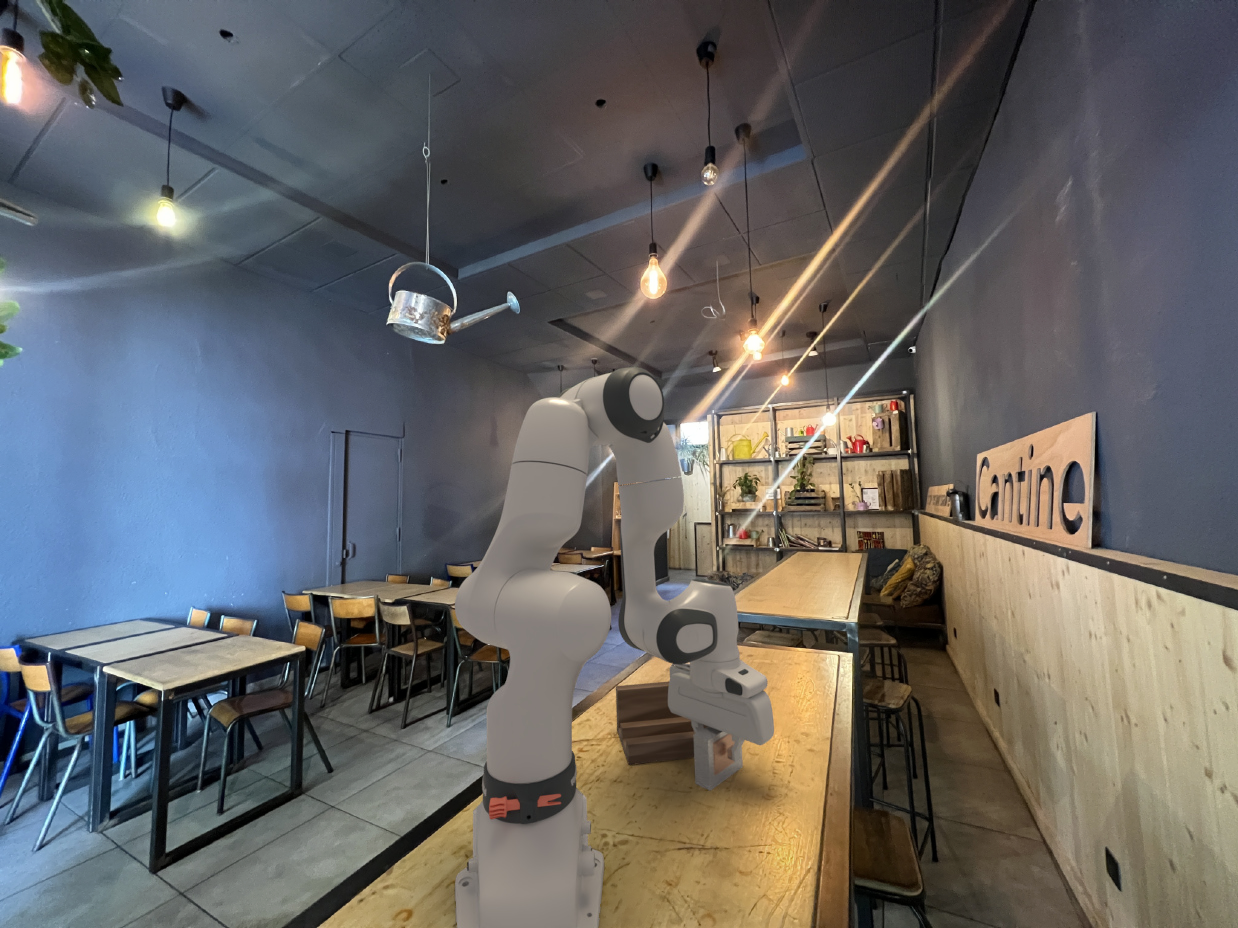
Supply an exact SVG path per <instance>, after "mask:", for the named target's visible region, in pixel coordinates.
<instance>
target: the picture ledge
mask: <svg viewBox="0 0 1238 928" xmlns="http://www.w3.org/2000/svg"><path fill="white" fill-rule="evenodd" d="M669 681H670V680H668V681H660V682H657V681H656V682H647V683H637V684H636V683H635V684H625V685H616V686H615V702H616V703H615V704H616V705H615V706H616V710H615V711H616V732H617V734H618V737H619V740H620V743H621V746H622V749H623V752H624V755H625V758H626V761H627V764H628V766H629V765H630V766H631V765H637V764H639V765H640V764H649V763H650V764H651V763H656V762H657V763H658V762H664V761H665V762H667V761H674V760H682V759H694V737H693V735H694V734H695V732H694V730H693V727H692V724H691V720H690V719H687V718H685V717H682V716H679V715H676V714H674V713H672V712H671V711H670V709H669V707H668V688H669ZM702 725H703V724H702ZM703 727H704V728H706V727H708V726H706V725H703Z"/></svg>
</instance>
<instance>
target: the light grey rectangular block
mask: <svg viewBox="0 0 1238 928" xmlns="http://www.w3.org/2000/svg"><path fill="white" fill-rule="evenodd" d="M693 737H694V757H693V759H694V776H695V777H694V780H695V781H694V782H695V785H697V786H700V787H702V788H703V789H705V790H708V791H710V792H711V791H712V790H714V789H715V788H717V786H719V785H720V784H722V783H724V781H726V780H727V779H728V778H730V777H731V776H732V775H734V774H735V773H736V772H738V771H739V770H741V769H742V768H743V763H744V762H743V750H742V749H743V745H742V746H741V748H740V759H739V760H738V761H736V762H735V761H733V760H730V759H728V757H727V755H728V753H727V749H728V748H729V747H731V746H732V745H734V743H735V741H732V735H730V734H728V733H725V732H722V731H720V730H717V729H714V728H712V727H709V726H708V727H706V728H704V729H703V730H701V731H699V732H697V733H696V734H694V735H693Z"/></svg>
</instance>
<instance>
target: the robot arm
mask: <svg viewBox="0 0 1238 928" xmlns="http://www.w3.org/2000/svg"><path fill="white" fill-rule="evenodd" d="M665 403H666V402H665V396H664V392H663V389H662V387H661V385H660V382H658V380H657V379H656V378H655V377H654V375H653V374H652V373H650V372H649V371H648V370H647V369H645V368H642V367H637V366H635V367H633V366H632V367H630V366H629V367H622V368H617V369H615V370H613V371H612V372H610V373H609V372H608V373H605V374H604V373H603V374H601V375H598V376H593V377H590V378H587V379H585V380H583V381H581V382H580V383H577V384H576V385H574V386H573V387H569V388H566V389H564V390H563V391H562V392H560V393H559V394H557V396H556V397H554V396H553V397H552V396H551V397H545V398H542V399H538V400H537V401H535V402H534V403H532V405H530V406H529V408H528V410H527V411H526V414H525V416H524V418H523V421H522V424H521V427H520V429H519V433H518V435H517V439H516V442H515V447H514V451H513V454H512V455H513V456H512V460H511V466H510V471H509V477H508V483H507V487H506V493H505V497H504V504H503V506H502V507H503V508H502V511H501V516H500V520H499V523H498V524H497V525H498V526H497V528H496V530H495V533H494V536H493V538H492V540H491V542H490V544H489V546H488V549H487V551H486V552H485V555H484V556H483V558H482V560H481V561H480V563H479V565H477V568H476V569H474V571H473V572H471V574H470V575H468V576H467V577H466V578H465V579H464V580H463V581H462V583H461V584H460V586H459V588H458V590H457V592H456V596H455V599H454V611H455V616H456V619H457V621H458V624H459V625H460V626H461V627H462V628H463V629H464V630H465V631H466V632H467V633H468V634H470V635H471V636H472V637H474V638H475V639H477V640H478V641H479V642H481V643H484V644H486V645H490V646H494V647H497V648H502V649H505V650H507V651H508V653H509V657H510V658H509V669H508V673H507V677H506V681H505V683H504V684H503V685H502V686H500V687H499V688H498V689H497V690H496V691H495V692H494V693H493V694H492V695H491V697H490V699H489V701H488V703H487V708H486V761H485V763H484V765H483V774H482V781H481V782H482V784H481V787H482V788H481V790H482V801H481V802H480V803H479V804H478V805H476V807H475V808H474V810H473V811H472V858H468V861H467V862H466V864H467V865H466V867H465V868H463V869H462V870H461V871H459V872H458V874H457V875H456V876H455V883H454V898H455V899H454V902H455V901H456V908H455V923H456V922H457V928H598V927H599V928H600V926H599V925H600V918H599V913H600V914H601V907H600V904H601V903H602V895H603V893H602V892H603V884H604V883H603V882H604V871H605V859H604V855H603V853H602V852H600V851H599V850H597V849H595V848H592V845H590V844H589V835H590V834H591V833H592V821H591V820H588V807H587V805H588V801H587V796H586V795H584V792H583V793H582V792H581V791H580V790H579V789H578V788H577V772H578V771H577V763H576V755H575V754H576V753H574V750H573V701H574V694H575V688H576V685H577V682H578V678H579V677H580V676H579V675H580V673H581V671H582V669H583V667H584V666H585V664H586V663H587V662H588V661H589V660H591V658H593V657H594V656H596V654H598V652H599V651H600V650H601V648H603V646H604V644H605V642H606V640H607V638H608V635H609V633H610V630H611V624H612V610H611V609H612V608H611V605H610V601H609V598H608V595H607V593H606V591H605V590H604V589H603V588H602V586H601V585H599V584H598V583H597V582H595V581H592V580H590V579H587V578H585V577H584V576H580V575H577V574H575V573H572V572H569V571H561V570H551V568H552V566H553V564H554V561H555V558H556V557H557V555H558V553H559V551H560V549H561V548H562V547H563V546H564V544H565V543H566V542H568V541H569V540H571V539H572V538H573V537H574V536H575V535H576V534H577V533H578V532H579V530H580V527H581V524H582V518H583V510H584V505H585V503H584V502H585V498H586V497H585V495H586V487H587V480H588V472H589V461H590V451H591V449H592V448H593V447H594V446H595V447H596V446H602V445H605V446H606V445H608V448H609V449H610V451H611V452H612V454H613V455H614V458H615V465H616V468H615V469H616V478H617V484H618V493H619V503H620V504H619V505H620V518H621V519H620V530H619V531H620V532H619V544H620V545H619V546H620V561H621V562H620V565H621V566H620V567H621V580H622V597H621V602H620V603H621V604H620V608H619V613H618V619H617V620H618V621H617V622H618V623H617V624H618V631H619V633H620V636H621V637H622V639H623V641H624V642H625V644H627V645H628V646H629V647H631V648H632V649H635V650H638V651H642V652H645V653H648V654H650V655H651V656H653V657H655V658H658V659H659V660H662V661H664V662H666V663H668V664H671V665H670V667H669V680H668V681H669V688H668V707H669V709H670V711H671V712H672V713H674V714H676V715H679V716H682V717H685V718H687V719H690V720H691V724H692V727H693V730H694V732H695V734H696V733H697V732H699V731H701V730H703V729H704V727H703V725H706V726H709V727H712V728H714V729H717V730H720V731H722V732H725V733H728V734H730V735H732V741H735V743H734V745H732V746H731V747H729V748H728V749H727V753H728V755H727V757H728V759H730V760H733V761H735V762H736V761H738V760H739V759H740V748H741V746H742V747H743V745H744V743H745V741H747V742H750V743H752V744H754V745H758V746H763V745H765V744H766V743H767V742H769V741H771V740H772V738H773V737H774V734H775V722H774V713H773V707H772V701H771V699H770V698H771V697H769V694H768V693H767V692H766V691H765V689H766V688H768V684H769V683H768V682H769V681H768V678H767V676H766V675H765V674H763V673H761V672H760V671H759V670H757V669H755V668H753V667H752V666H750V665H749V664H748V663H746V662H745V661H744V660H742V659H741V658H740V655H741V654H740V650H739V647H738V642H737V640H738V634H739V619H738V618H739V617H738V616H739V615H738V606H737V601H736V595H735V592H734V590H733V588H732V586H731V585H730V584H728V583H726V582H724V581H720V580H715V579H714V580H712V579H706V578H694V579H691V580H690V583H689V585H687V587H685V589H684V590H683V591H682V592H681V593H679V594H678V595H677V596H675V597H673V598H671V599H669V600H666V599H663V598H662V596H661V595H660V594H659V592H658V591H657V584H656V569H655V567H656V566H655V547H656V543H657V541H658V540H659V538H660V537H661V536H662V535H663V534H664V533H666V532H667V531H669V530H670V529H671V528H673V526H675V525H676V524H677V522H678V521H679V519H680V518H681V516H682V514H683V511H684V505H685V503H684V502H685V494H684V493H685V492H684V491H685V490H684V485H683V479H682V473H681V467H680V466H681V465H680V462H679V458H678V453H677V450H676V447H675V443H674V439H673V438H672V434H671V431H670V429H669V427H668V426H667V424H666V423H665V422H664V420H665V412H666V411H665V409H666V404H665ZM702 724H703V725H702ZM601 905H602V904H601Z"/></svg>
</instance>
